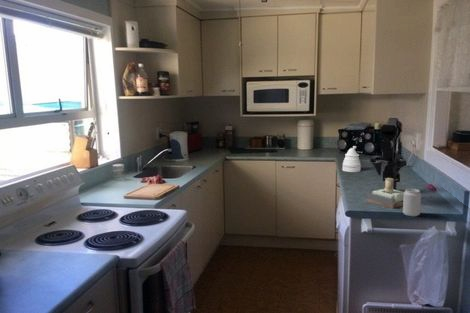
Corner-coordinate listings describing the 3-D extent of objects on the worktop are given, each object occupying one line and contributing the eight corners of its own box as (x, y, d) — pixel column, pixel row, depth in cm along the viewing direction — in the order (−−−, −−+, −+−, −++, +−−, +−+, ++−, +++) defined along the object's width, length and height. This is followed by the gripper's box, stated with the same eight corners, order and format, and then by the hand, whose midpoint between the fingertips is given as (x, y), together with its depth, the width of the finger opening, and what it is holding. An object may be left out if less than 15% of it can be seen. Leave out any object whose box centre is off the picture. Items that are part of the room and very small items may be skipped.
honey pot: (358, 168, 286) (358, 145, 283) (362, 171, 273) (362, 147, 270) (341, 168, 287) (341, 145, 284) (344, 172, 275) (344, 147, 272)
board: (390, 195, 211) (390, 187, 211) (416, 201, 198) (417, 193, 197) (366, 201, 201) (366, 192, 200) (392, 208, 188) (392, 199, 187)
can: (415, 211, 182) (416, 187, 180) (423, 216, 174) (424, 191, 172) (399, 212, 181) (401, 188, 179) (407, 217, 174) (408, 192, 172)
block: (386, 195, 206) (386, 187, 205) (405, 199, 196) (405, 192, 196) (372, 198, 200) (372, 191, 199) (391, 203, 190) (391, 195, 190)
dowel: (387, 195, 201) (388, 177, 199) (394, 197, 197) (395, 178, 196) (383, 197, 199) (383, 178, 197) (389, 198, 195) (390, 180, 194)
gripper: (413, 148, 194) (412, 177, 197) (382, 144, 210) (381, 171, 213) (400, 151, 189) (399, 181, 191) (369, 146, 204) (368, 174, 207)
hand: (387, 176), depth 201 cm, fingers open, 9 cm apart
